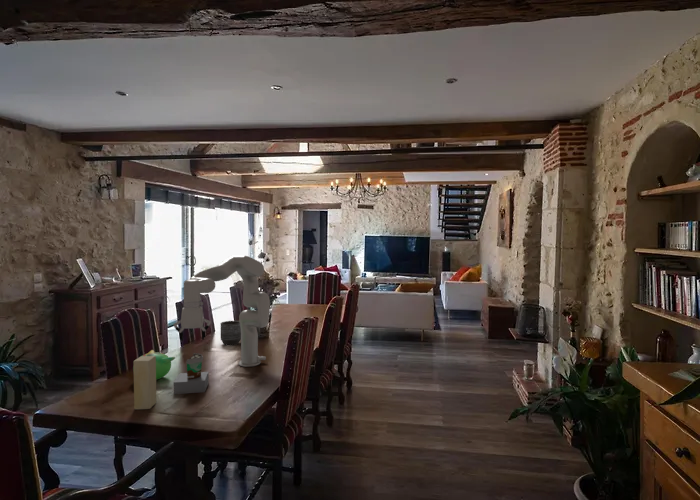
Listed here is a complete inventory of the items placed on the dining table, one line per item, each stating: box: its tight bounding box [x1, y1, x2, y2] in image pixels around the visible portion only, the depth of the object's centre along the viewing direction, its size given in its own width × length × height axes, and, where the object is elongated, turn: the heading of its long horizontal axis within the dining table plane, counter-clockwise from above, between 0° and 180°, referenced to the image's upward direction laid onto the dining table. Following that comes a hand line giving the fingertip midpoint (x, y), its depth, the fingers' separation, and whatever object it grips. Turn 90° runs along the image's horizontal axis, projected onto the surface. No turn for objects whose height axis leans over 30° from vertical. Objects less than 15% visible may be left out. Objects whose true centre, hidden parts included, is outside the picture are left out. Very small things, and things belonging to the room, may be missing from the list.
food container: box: [185, 352, 204, 380], centre depth 211 cm, size 12×6×10 cm, turn 4°
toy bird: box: [132, 349, 176, 381], centre depth 222 cm, size 18×17×15 cm
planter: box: [220, 320, 241, 346], centre depth 299 cm, size 14×14×15 cm
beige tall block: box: [133, 355, 157, 410], centre depth 187 cm, size 8×7×21 cm
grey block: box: [173, 371, 209, 395], centre depth 210 cm, size 14×14×6 cm
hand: (192, 339), depth 210 cm, fingers open, 9 cm apart
